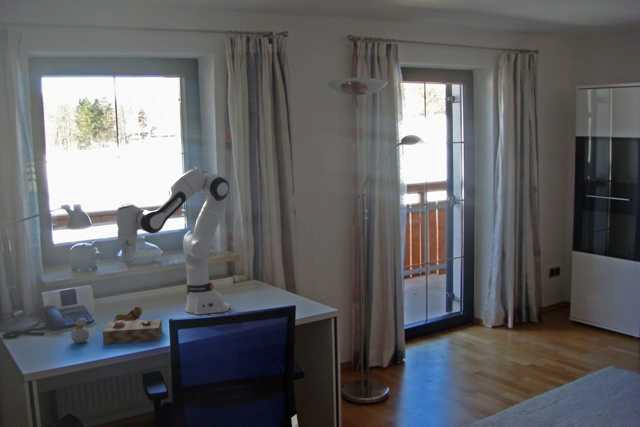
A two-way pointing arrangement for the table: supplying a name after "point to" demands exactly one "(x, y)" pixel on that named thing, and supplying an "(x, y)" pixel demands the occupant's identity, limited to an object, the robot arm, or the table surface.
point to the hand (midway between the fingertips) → (129, 268)
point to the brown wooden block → (132, 332)
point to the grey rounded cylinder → (118, 324)
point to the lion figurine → (130, 315)
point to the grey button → (146, 323)
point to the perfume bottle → (80, 331)
